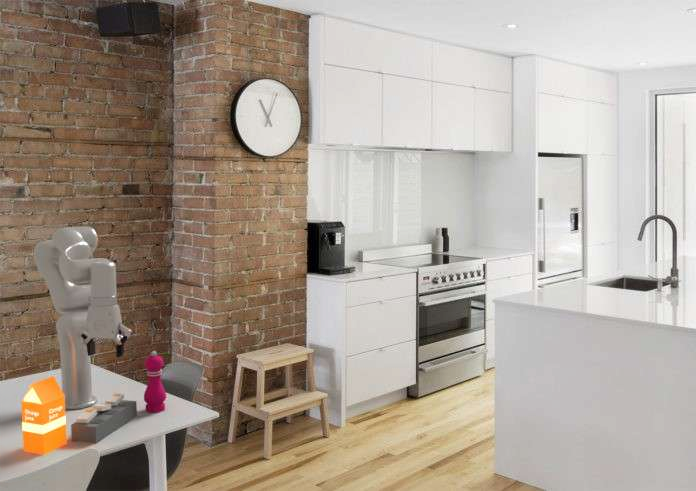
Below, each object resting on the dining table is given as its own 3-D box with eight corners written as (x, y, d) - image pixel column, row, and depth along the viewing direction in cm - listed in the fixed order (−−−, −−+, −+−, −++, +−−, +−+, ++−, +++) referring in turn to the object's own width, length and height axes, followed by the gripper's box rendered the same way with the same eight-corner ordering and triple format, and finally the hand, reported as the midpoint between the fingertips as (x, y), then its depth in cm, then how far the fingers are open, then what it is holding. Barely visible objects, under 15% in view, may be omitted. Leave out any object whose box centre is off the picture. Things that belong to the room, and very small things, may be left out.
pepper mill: (160, 414, 232) (158, 354, 230) (140, 412, 233) (138, 353, 231) (170, 406, 239) (168, 349, 237) (150, 405, 240) (148, 348, 238)
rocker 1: (76, 422, 209) (75, 417, 209) (86, 413, 214) (85, 408, 213) (87, 423, 208) (86, 418, 208) (97, 414, 213) (96, 409, 213)
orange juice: (23, 451, 201) (19, 382, 199) (46, 440, 209) (43, 374, 207) (44, 454, 198) (41, 385, 196) (67, 443, 206) (64, 377, 204)
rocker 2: (91, 410, 217) (91, 405, 217) (100, 408, 222) (101, 403, 222) (102, 411, 216) (102, 405, 216) (111, 409, 221) (111, 404, 221)
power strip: (71, 441, 208) (70, 423, 208) (123, 408, 238) (123, 392, 237) (96, 443, 207) (95, 425, 206) (145, 409, 236) (145, 394, 235)
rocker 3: (105, 405, 225) (105, 400, 224) (114, 396, 229) (113, 392, 229) (116, 405, 224) (115, 401, 223) (124, 397, 229) (123, 393, 228)
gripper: (71, 302, 216) (73, 357, 217) (123, 304, 212) (125, 360, 214) (85, 298, 223) (87, 351, 225) (135, 300, 220) (137, 354, 221)
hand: (105, 355), depth 219 cm, fingers open, 9 cm apart
